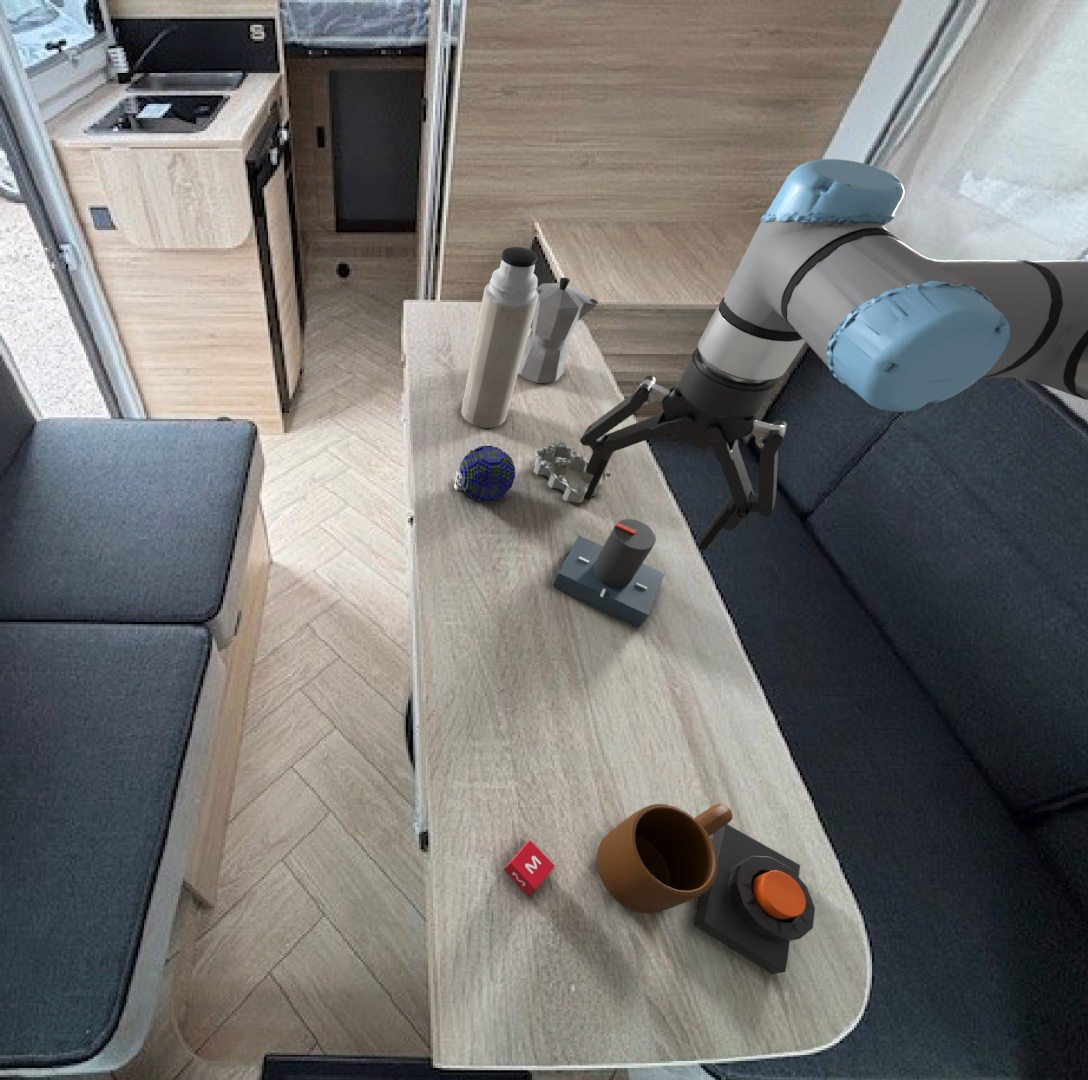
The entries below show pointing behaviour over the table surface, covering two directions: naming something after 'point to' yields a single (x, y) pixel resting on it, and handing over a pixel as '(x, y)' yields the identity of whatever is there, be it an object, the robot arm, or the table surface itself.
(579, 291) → the coffeepot
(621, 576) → the temp dial
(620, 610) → the dial panel
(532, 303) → the thermos bottle
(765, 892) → the round orange button
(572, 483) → the grey jagged hollow block
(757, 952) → the push button switch
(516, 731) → the table surface
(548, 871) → the dice
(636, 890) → the mug
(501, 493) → the ball
